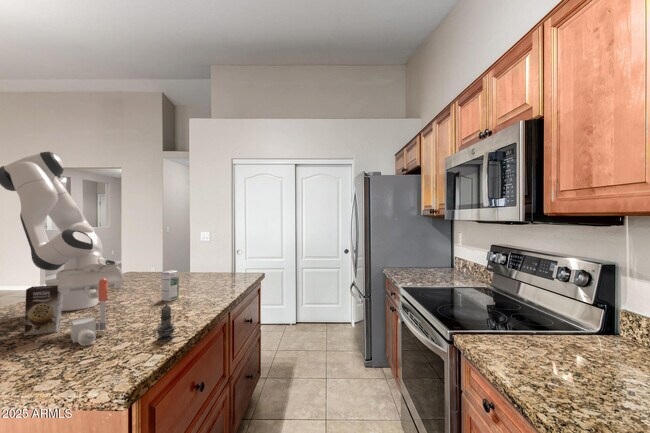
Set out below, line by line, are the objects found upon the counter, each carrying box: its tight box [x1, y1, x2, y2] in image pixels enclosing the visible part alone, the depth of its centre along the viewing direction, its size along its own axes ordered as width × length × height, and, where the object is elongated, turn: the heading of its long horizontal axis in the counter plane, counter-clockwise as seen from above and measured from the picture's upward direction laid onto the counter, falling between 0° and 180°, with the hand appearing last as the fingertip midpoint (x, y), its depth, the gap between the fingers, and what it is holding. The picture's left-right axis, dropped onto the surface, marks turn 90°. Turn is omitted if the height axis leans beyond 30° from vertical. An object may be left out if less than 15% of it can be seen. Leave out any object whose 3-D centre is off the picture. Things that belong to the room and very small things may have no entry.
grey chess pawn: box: [156, 303, 176, 342], centre depth 111 cm, size 6×6×12 cm
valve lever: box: [98, 278, 109, 332], centre depth 114 cm, size 3×3×18 cm
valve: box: [70, 316, 100, 347], centre depth 111 cm, size 18×7×6 cm, turn 44°
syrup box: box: [161, 269, 180, 302], centre depth 164 cm, size 6×6×14 cm
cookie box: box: [23, 284, 62, 336], centre depth 117 cm, size 9×6×16 cm
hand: (93, 297), depth 118 cm, fingers closed
